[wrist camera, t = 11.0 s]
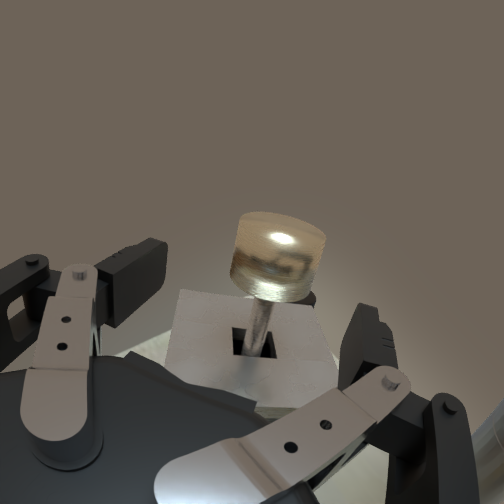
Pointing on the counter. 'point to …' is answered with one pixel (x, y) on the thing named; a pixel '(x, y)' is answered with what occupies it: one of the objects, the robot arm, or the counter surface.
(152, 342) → the counter surface
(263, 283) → the plunger
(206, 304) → the square holed block
